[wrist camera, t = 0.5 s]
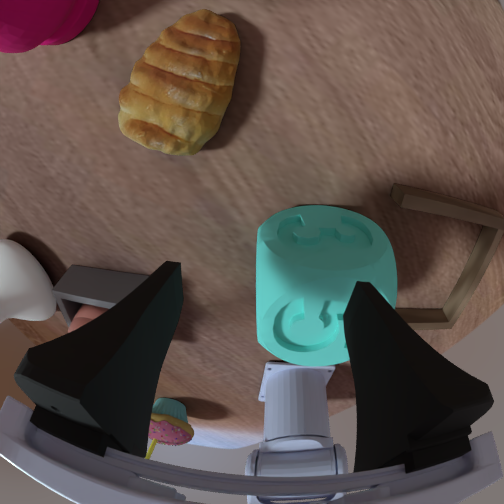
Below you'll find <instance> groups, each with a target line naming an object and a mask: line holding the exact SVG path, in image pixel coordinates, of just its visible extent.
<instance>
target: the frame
mask: <svg viewBox="0 0 504 504" xmlns="http://www.w3.org/2000/svg"><path fill="white" fill-rule="evenodd" d="M391 197H392V198H393V199H394V200H395V201H396V203H397V204H398V205H399V206H400V207H402V208H407V209H412V210H417V211H422V212H427V213H432V214H437V215H442V216H446V217H451V218H455V219H460V220H464V221H468V222H472V223H477V224H481V225H484V226H483V228H482V231H481V233H480V236H479V238H478V240H477V243H476V245H475V247H474V249H473V252H472V254H471V256H470V258H469V260H468V262H467V264H466V266H465V268H464V270H463V272H462V274H461V276H460V278H459V280H458V282H457V284H456V286H455V288H454V289H453V291H452V293H451V295H450V297H449V298H448V300H447V302H446V304H445V305H444V307H443V309H400V308H395V311H396V312H397V313H398V314H399V315H400V316H401V317H402V318H403V320H404V321H405V322H406V323H407V324H408V325H409V326H410V327H411V328H412V329H413V330H435V329H451V328H452V327H453V325H454V324H455V322H456V321H457V319H458V318H459V316H460V315H461V313H462V311H463V310H464V308H465V307H466V305H467V303H468V302H469V300H470V298H471V297H472V295H473V293H474V291H475V290H476V288H477V286H478V284H479V283H480V281H481V279H482V277H483V275H484V273H485V271H486V269H487V267H488V265H489V263H490V261H491V259H492V257H493V255H494V253H495V251H496V249H497V247H498V244H499V242H500V240H501V238H502V235H503V233H504V216H502V215H501V214H500V213H499V212H498V211H497V210H494V209H491V208H488V207H485V206H481V205H478V204H475V203H471V202H468V201H464V200H461V199H457V198H453V197H450V196H446V195H442V194H438V193H434V192H430V191H426V190H422V189H418V188H413V187H409V186H404V185H400V184H395V183H394V184H393V188H392V192H391Z"/></svg>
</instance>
